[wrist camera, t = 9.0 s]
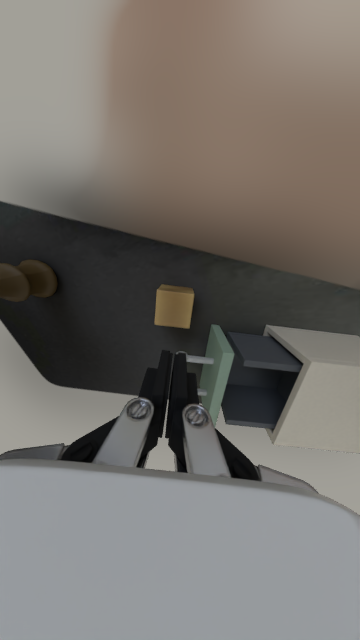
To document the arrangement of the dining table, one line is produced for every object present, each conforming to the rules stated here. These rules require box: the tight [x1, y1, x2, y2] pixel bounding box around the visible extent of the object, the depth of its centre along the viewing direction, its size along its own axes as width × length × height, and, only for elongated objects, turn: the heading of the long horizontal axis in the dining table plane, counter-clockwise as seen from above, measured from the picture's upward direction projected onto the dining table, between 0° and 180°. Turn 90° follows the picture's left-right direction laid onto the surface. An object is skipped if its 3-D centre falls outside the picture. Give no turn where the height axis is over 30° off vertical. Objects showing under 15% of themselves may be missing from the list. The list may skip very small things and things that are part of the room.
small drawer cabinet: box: [263, 325, 360, 454], centre depth 23 cm, size 14×12×10 cm
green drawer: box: [176, 324, 304, 429], centre depth 23 cm, size 18×11×8 cm, turn 83°
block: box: [155, 284, 194, 329], centre depth 22 cm, size 4×4×4 cm
